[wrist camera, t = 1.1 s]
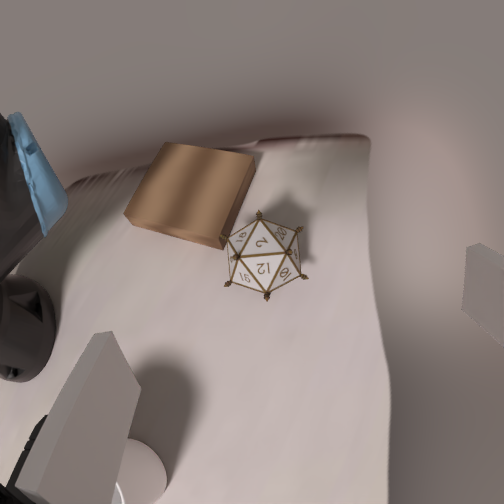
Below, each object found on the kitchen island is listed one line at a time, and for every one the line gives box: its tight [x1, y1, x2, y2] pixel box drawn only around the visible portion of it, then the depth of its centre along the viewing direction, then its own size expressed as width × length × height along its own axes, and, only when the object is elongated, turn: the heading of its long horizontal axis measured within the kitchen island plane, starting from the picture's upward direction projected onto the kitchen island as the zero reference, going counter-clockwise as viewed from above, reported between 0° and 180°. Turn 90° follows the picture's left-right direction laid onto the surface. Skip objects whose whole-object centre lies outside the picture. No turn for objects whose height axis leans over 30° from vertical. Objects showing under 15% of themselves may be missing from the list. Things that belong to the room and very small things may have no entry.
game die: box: [220, 210, 309, 301], centre depth 32 cm, size 9×8×10 cm
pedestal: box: [123, 142, 256, 250], centre depth 40 cm, size 13×12×3 cm
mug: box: [111, 438, 167, 504], centre depth 23 cm, size 9×12×11 cm
